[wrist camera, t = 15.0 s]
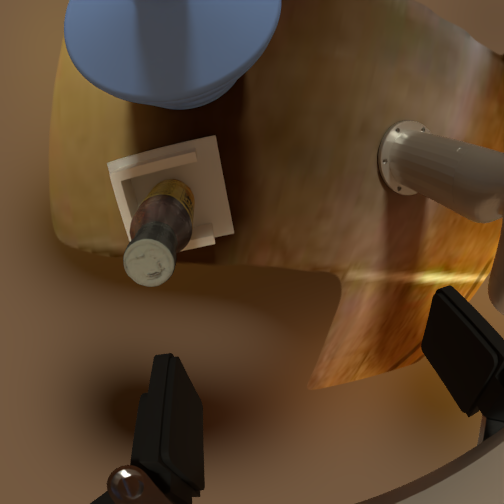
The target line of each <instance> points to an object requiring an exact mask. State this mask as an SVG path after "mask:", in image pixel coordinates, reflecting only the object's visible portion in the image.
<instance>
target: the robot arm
mask: <svg viewBox="0 0 504 504" xmlns="http://www.w3.org/2000/svg"><path fill="white" fill-rule="evenodd" d="M378 165H379V170H380V173H381V176H382V178H383V180H384V182H385V183H386V184H387V186H388V187H389V188H390V189H392V190H393V191H395V192H397V193H399V194H402V195H414V194H417V193H420V194H422V195H424V196H426V197H428V198H430V199H432V200H434V201H436V202H437V203H439V204H441V205H443V206H445V207H447V208H449V209H451V210H452V211H454V212H456V213H458V214H460V215H461V216H463V217H465V218H467V219H469V220H471V221H473V222H477V223H488V222H492V221H495V220H497V219H499V218H503V222H502V228H501V235H500V240H499V244H498V248H497V252H496V255H495V259H494V263H493V267H492V270H491V274H490V278H489V283H488V294H489V298H490V301H491V302H492V304H493V305H494V307H495V308H496V309H497V310H498V311H499V312H500V313H501V314H503V315H504V153H502V152H498V151H495V150H491V149H488V148H484V147H481V146H477V145H474V144H470V143H466V142H463V141H459V140H455V139H451V138H447V137H442V136H438V135H434V134H431V132H430V131H429V130H428V129H427V128H426V127H425V126H424V125H422V124H421V123H418V122H416V121H410V120H407V121H401V122H398V123H396V124H394V125H393V126H392V127H391V128H389V129H388V131H387V132H386V133H385V135H384V137H383V139H382V141H381V144H380V147H379V153H378ZM421 348H422V351H423V353H424V355H425V356H426V358H427V359H428V361H429V362H430V363H431V365H432V366H433V368H434V369H435V371H436V372H437V373H438V375H439V377H440V378H441V380H442V381H443V383H444V384H445V386H446V387H447V389H448V390H449V392H450V394H451V395H452V397H453V398H454V400H455V401H456V403H457V405H458V406H459V408H460V409H461V411H462V412H464V413H466V414H467V415H468V417H470V416H472V415H474V414H475V413H477V412H478V411H479V410H480V411H481V413H482V420H481V427H480V433H479V438H478V444H477V446H476V447H475V448H473V449H471V450H470V451H468V452H466V453H465V454H463V455H462V456H460V457H458V458H457V459H455V460H453V461H451V462H449V463H448V464H446V465H444V466H442V467H440V468H438V469H437V470H435V471H433V472H431V473H429V474H427V475H425V476H423V477H421V478H419V479H417V480H414V481H412V482H410V483H408V484H406V485H403V486H401V487H399V488H396V489H394V490H391V491H389V492H387V493H384V494H382V495H379V496H376V497H373V498H371V499H368V500H365V501H362V502H359V503H356V504H504V340H503V338H502V337H501V336H500V335H499V334H498V333H497V331H495V329H494V328H493V327H492V326H491V325H490V324H489V323H488V322H487V321H486V320H485V319H484V318H483V317H482V316H481V315H480V313H478V311H477V310H476V309H475V308H474V307H473V306H472V305H471V304H470V303H469V302H468V301H467V300H466V299H465V298H464V297H463V296H462V295H461V294H460V293H459V292H458V291H456V290H455V289H454V288H453V287H452V286H446V287H443V288H440V289H438V290H437V291H436V293H435V295H434V296H433V299H432V303H431V308H430V312H429V317H428V321H427V325H426V329H425V333H424V336H423V340H422V344H421ZM204 487H205V482H204V453H203V406H202V402H201V399H200V398H199V396H198V394H197V392H196V391H195V388H194V386H193V384H192V382H191V381H190V379H189V377H188V375H187V373H186V371H185V369H184V367H183V365H182V363H181V361H180V359H179V357H174V356H173V354H171V353H169V354H161V355H155V357H154V361H153V366H152V372H151V378H150V384H149V390H148V393H143V394H142V395H141V398H140V401H139V407H138V413H137V420H136V426H135V433H134V441H133V448H132V455H131V464H130V465H124V466H120V467H118V468H116V469H115V470H114V471H113V472H111V474H110V476H109V477H108V480H107V491H106V492H105V493H104V494H103V495H102V496H100V497H98V498H97V499H96V500H94V501H93V502H92V503H90V504H192V497H200V490H204Z"/></svg>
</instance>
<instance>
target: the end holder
mask: <svg viewBox="0 0 504 504" xmlns="http://www.w3.org/2000/svg"><path fill="white" fill-rule="evenodd" d="M107 165H108V169H109V173H110V174H109V175H110V178H111V182H112V186H113V189H114V193H115V196H116V200H117V203H118V206H119V210H120V213H121V216H122V219H123V222H124V226H125V229H126V232H127V235H128V238H129V241H131V237H130V233H129V232H130V224H131V221H132V219H133V216H134V214H135V213H136V211H137V209H138V207H139V206H140V204H141V203H142V202H143V200H144V199H145V198H146V196H147V195H148V194H149V193H150V191H151V190H152V189H153V187H154V186H156V185H157V184H158V183H160V182H161V181H164V180H168V179H177V180H179V181H182V182H183V183H185V184H186V185H187V186H188V187H190V189H191V191H192V193H193V195H194V200H195V206H194V218H193V230H192V236H191V239H190V241H189V243H188V244H187V246H186V247H185V248H184V249H182V250H181V251H185V250H189V249H194V248H198V247H203V246H208V245H212V244H215V237H219V236H224V235H229V234H234V229H233V224H232V218H231V213H230V208H229V203H228V198H227V193H226V188H225V182H224V177H223V172H222V167H221V161H220V156H219V151H218V146H217V140H216V135H213V136H208V137H203V138H198V139H194V140H189V141H185V142H181V143H176V144H172V145H168V146H164V147H160V148H156V149H153V150H149V151H145V152H141V153H138V154H134V155H131V156H127V157H124V158H121V159H117V160H114V161H111V162H109V163H107Z"/></svg>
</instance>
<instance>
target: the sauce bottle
mask: <svg viewBox="0 0 504 504" xmlns="http://www.w3.org/2000/svg"><path fill="white" fill-rule="evenodd" d="M194 206H195V200H194V195H193V193H192V191H191V189H190V187H188V186H187V185H186V184H185V183H183V182H182V181H179V180H177V179H168V180H164V181H161V182H160V183H158V184H157V185H156V186H154V187H153V189H152V190H151V191H150V193H149V194H148V195H147V196H146V198H145V199H144V200H143V202H142V203H141V204H140V206H139V207H138V209H137V211H136V213H135V214H134V216H133V219H132V221H131V224H130V232H129V233H130V237H131V241H130V243H129V244H128V246H127V248H126V251H125V253H124V258H123V261H124V268H125V271H126V273H127V274H128V276H129V277H131V278H132V280H134V281H135V282H136V283H138V284H140V285H144V286H149V287H151V286H158V285H161V284H162V283H164V282H165V281H167V280H168V279H169V278H170V277H171V276H172V274H173V272H174V268H175V265H176V254H177V253H178V252H180V251H181V250H182V249H184V248H185V247H186V246H187V244H188V243H189V241H190V239H191V236H192V230H193V218H194Z"/></svg>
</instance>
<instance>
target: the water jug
mask: <svg viewBox="0 0 504 504" xmlns="http://www.w3.org/2000/svg"><path fill="white" fill-rule="evenodd" d="M280 12H281V0H70V1H69V4H68V7H67V10H66V15H65V22H64V37H65V43H66V47H67V51H68V53H69V56H70V58H71V60H72V62H73V64H74V65H75V67H76V68H77V70H78V71H79V72H80V73H81V74H82V75H83V76H84V77H85V78H86V79H87V80H88V81H89V82H90V83H92V84H93V85H94V86H96V87H98V88H99V89H101V90H103V91H105V92H107V93H109V94H111V95H113V96H115V97H117V98H120V99H123V100H126V101H130V102H134V103H139V104H146V105H152V106H157V107H162V108H167V109H174V110H176V109H177V110H184V109H192V108H196V107H200V106H203V105H206V104H208V103H210V102H212V101H214V100H216V99H218V98H219V97H221V96H222V95H223V94H225V93H226V92H227V91H228V90H229V89H230V88H231V87H232V86H233V85H234V84H235V82H236V81H237V80H238V78H240V77H241V76H242V75H243V74H244V73H245V72H247V71H248V70H249V69H250V68H251V67H252V66H253V64H254V63H255V62H256V61H257V60H258V59H259V57H260V56H261V55H262V53H263V52H264V50H265V49H266V47H267V45H268V44H269V42H270V40H271V38H272V36H273V34H274V32H275V30H276V27H277V24H278V21H279V17H280Z"/></svg>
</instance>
